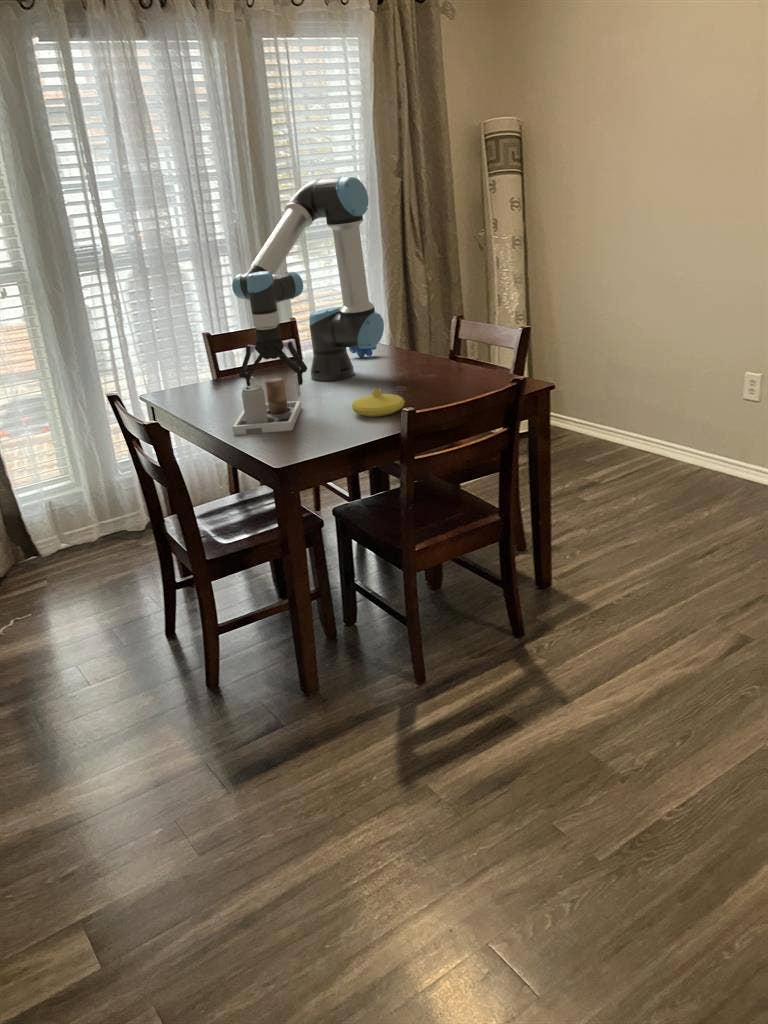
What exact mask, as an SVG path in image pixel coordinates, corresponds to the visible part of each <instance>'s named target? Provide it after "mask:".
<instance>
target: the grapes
mask: <svg viewBox="0 0 768 1024" xmlns="http://www.w3.org/2000/svg"><path fill="white" fill-rule="evenodd" d="M348 349H349V352H350V353H351V354H356V355H357V357H359V358H365V356H367V357H372V355H373V354H374V353H373V351H375V350H377V345H376V346H375V347H373V348H364V349H360V348H350V347H348Z"/></svg>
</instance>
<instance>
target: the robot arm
mask: <svg viewBox="0 0 768 1024" xmlns="http://www.w3.org/2000/svg"><path fill="white" fill-rule="evenodd" d="M368 207H369V195H368V191H367V189H366V187H365V185H364V183H363V182H361V180H360V179H359V178H358V177H354V176H337V177H326V178H315V179H312V180H310V181H308V182H306V183H305V184H304V185H303V186H301V187H300V188H299V189H298V190H297V191H296V192H294V194H293V196H292V197H290V199H289V201H288V202H287V203H286V205H285V206H284V213H283V214H284V215H283V216H282V217H281V218H280V220H279V221H278V223H277V224H276V227H275V228H274V229H273V231H272V232H271V233H270V235H269V237H268V238H267V240H266V242H264V244H263V246H262V248H261V249H260V250H259V253H258V254H257V255H256V257H255V259H253V261H252V263H251V264H250V266H249V268H248V269H247V271H246V272H245V273H243V272H242V273H239V274H237V275H234V277H233V279H232V283H231V288H232V291H233V294H234V295H235V297H237V298H238V299H242V300H247V301H248V300H249V304H250V310H251V317H252V324H253V328H254V331H253V332H254V337H255V345H254V344H253V345H252V344H249V343H248V344H247V345H246V346H245V356H244V358H243V362H242V365H241V368H240V372H239V375H238V377H239V378H243V379H245V380H246V382H245V383H246V387H247V386H252V385H256V384H255V377H254V376H252V374H253V373H254V371H255V370H256V369H257V367H258V365H259V364H260V362H261V361H262V359H265V360H270V359H272V360H273V359H274V360H276V359H280V360H281V361H283V362H284V363H285V364H286V365H287V366H288V367H289V368H290V369H291V370H292V371H294V372H295V374H294V380H295V390H296V395H297V397H301V396H302V392H301V386H302V385H303V383H304V381H303V373H306V372H307V370H308V367H307V365H306V363H305V362H304V361H303V359H302V357H301V356H300V354H299V353H298V351H297V350H296V348H295V345H294V342H293V341H292V340H289V341H287V342H283V340H282V333H281V327H280V326H279V325H280V320H279V312H278V305H277V303H280V302H281V303H282V302H284V301H287V300H290V299H291V300H293V299H294V298H296V297H298V296H300V295H301V294H302V293H303V291H304V280H303V279H302V277H301V275H300V274H298V273H297V272H296V271H285V272H284V273H277V272H278V270H279V268H281V266H282V264H283V263H284V262H285V260H286V259H287V257H288V255H289V253H291V250H292V249H293V247H294V246H295V244H296V243H297V241H298V239H299V238H300V236H301V234H302V233H303V232H304V229H306V228H309V227H310V226H311V225H312V223H313V222H314V221H315V220H317V219H321V218H325V220H326V225H327V226H328V227H329V228H330V229H331V230H332V235H333V242H334V249H335V250H334V251H335V257H336V263H337V269H338V278H339V283H340V285H339V286H340V290H341V297H342V305H341V306H333V307H328V308H323V309H319V310H315V311H313V312H311V313H310V314H309V315H308V316H309V317H308V319H309V320H308V321H309V325H308V326H309V330H310V331H309V333H310V337H311V339H310V340H311V346H312V354H313V358H312V362H311V367H310V378H311V379H312V380H314V381H319V382H320V381H321V382H330V381H338V380H344V379H347V378H350V377H352V376H353V375H355V369H354V365H353V363H352V360H351V359H350V356H349V354H348V350H347V348H349V347H350V348H360V349H364V348H373V347H375V346H376V347H377V345H378V344H380V342H381V340H382V337H383V336H384V335H383V334H384V331H385V324H384V323H385V321H384V318H383V317H382V315H381V314H380V313H378V312H376V310H375V304H373V303H372V302H371V301H370V299H369V292H368V285H367V284H368V283H367V276H366V269H365V267H366V266H365V261H364V253H363V245H362V244H363V243H362V237H361V229H360V225H361V224H362V223H363V221H364V217H363V216H364V215H365V214H366V212H367V211H368ZM284 348H285V349H287V351H289V352H290V354H291V356H292V357H293V359H294V361H295V362H296V363H297V364H296V363H295V362H294V361H293V360H291V358H290V357H288V356H287V355H286V353H285V352H284V351H283V349H284ZM254 350H255V351H256V352H257V353H258V354H259V355H258V356H257V357H256V360H254V363H252V366H251V367H250V368H249V370H248V372H246V371H247V367H248V365H249V361H250V358H251V355H252V353H253V352H254Z"/></svg>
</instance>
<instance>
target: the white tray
mask: <svg viewBox="0 0 768 1024" xmlns="http://www.w3.org/2000/svg"><path fill="white" fill-rule="evenodd" d="M265 404H266V411H267V418H268V423H260V424H248V425H246V419H245V413H244V408H243V410H242V411H241V413H240V414H239V416H238V417H237V419H236V421H235V422H234V423H233V424H232V432H233V435H234V436H239V435H250V434H262V433H277V432H290V431H293V430H294V428H295V425H296V424H297V423H296V422H297V420H298V417H299V415H300V413H301V410H302V405H301V400H294V401H293V400H292V401H287V406H288V412H287V413H284V414H277V415H271V414H270V411H269V404H268V403H265ZM287 419H288V420H287ZM283 420H284V421H283ZM286 420H287V421H286Z"/></svg>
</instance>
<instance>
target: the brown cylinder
mask: <svg viewBox="0 0 768 1024" xmlns="http://www.w3.org/2000/svg"><path fill="white" fill-rule="evenodd" d="M264 383H265V389H266V396H267V404H269V411H270V414H271V415H277V414H284V413H287V412H288V406H287V402H288V399H287V393H286V385H285V379H284V378H281V377H275V378H270V379H266V380H265V381H264Z"/></svg>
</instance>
